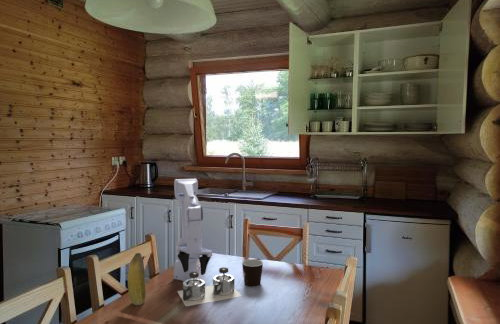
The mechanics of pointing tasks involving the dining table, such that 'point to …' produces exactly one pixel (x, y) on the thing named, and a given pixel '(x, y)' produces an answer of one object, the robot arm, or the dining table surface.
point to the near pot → (193, 290)
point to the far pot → (223, 285)
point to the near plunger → (194, 275)
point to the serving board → (209, 296)
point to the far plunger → (223, 270)
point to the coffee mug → (252, 272)
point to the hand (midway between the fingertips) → (194, 272)
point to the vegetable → (136, 280)
